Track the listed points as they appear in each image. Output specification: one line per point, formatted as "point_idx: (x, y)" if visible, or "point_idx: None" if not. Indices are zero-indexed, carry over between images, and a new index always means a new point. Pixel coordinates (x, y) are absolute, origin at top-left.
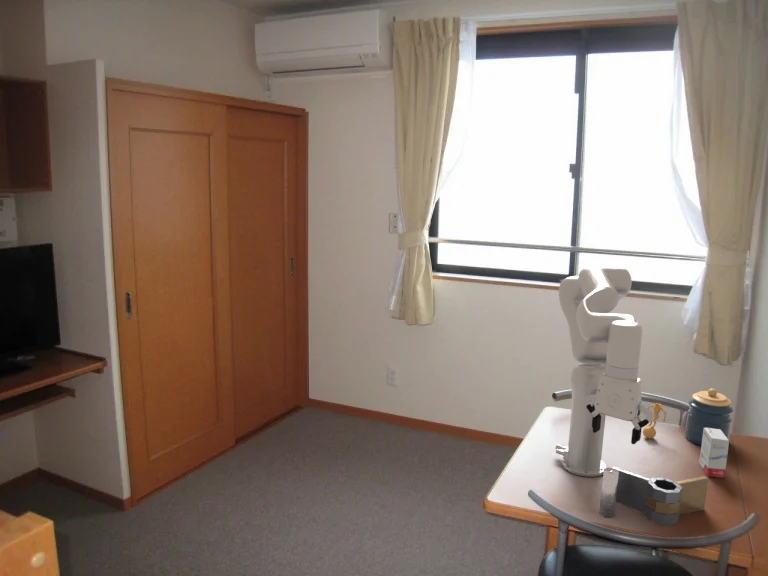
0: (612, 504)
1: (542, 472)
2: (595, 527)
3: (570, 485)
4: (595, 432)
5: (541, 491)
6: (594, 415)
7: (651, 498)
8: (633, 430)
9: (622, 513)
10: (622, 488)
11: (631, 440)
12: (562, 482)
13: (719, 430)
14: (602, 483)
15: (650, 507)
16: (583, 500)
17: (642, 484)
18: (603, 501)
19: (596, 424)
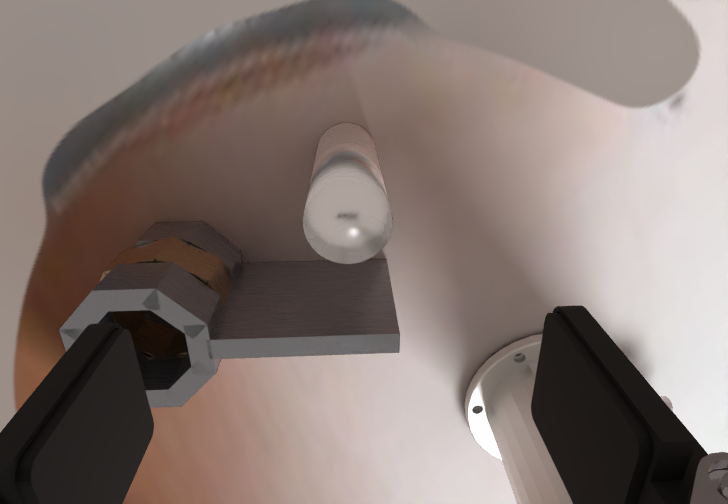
0: (318, 150)
1: (668, 267)
2: (336, 9)
3: (541, 252)
4: (550, 314)
5: (631, 125)
6: (716, 491)
7: (186, 268)
8: (9, 450)
9: (302, 198)
10: (336, 291)
11: (109, 344)
12: (575, 251)
13: None
14: (380, 175)
15: (198, 250)
16: (459, 182)
17: (246, 321)
18: (356, 137)
19: (593, 380)
